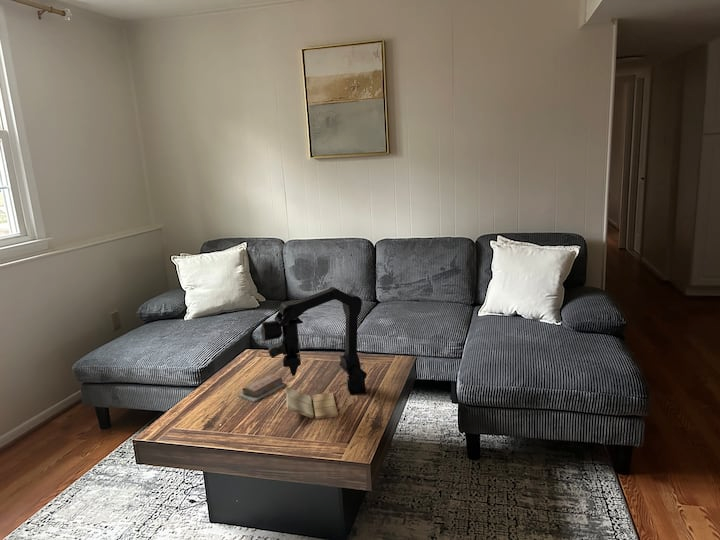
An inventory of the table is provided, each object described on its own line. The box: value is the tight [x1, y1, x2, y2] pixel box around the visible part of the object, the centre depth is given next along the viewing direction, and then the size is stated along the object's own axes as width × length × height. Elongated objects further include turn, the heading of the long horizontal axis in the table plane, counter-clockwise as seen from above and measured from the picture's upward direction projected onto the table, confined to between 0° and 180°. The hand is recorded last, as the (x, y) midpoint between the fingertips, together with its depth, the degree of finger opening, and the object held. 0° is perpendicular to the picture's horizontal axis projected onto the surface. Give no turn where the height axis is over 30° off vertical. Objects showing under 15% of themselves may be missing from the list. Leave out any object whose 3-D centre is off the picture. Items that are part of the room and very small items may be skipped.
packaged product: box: [237, 373, 287, 403], centre depth 217 cm, size 18×5×10 cm
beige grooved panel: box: [285, 387, 315, 419], centre depth 197 cm, size 10×16×1 cm, turn 9°
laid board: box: [311, 392, 339, 420], centre depth 199 cm, size 8×18×1 cm, turn 9°
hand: (293, 375), depth 199 cm, fingers closed
